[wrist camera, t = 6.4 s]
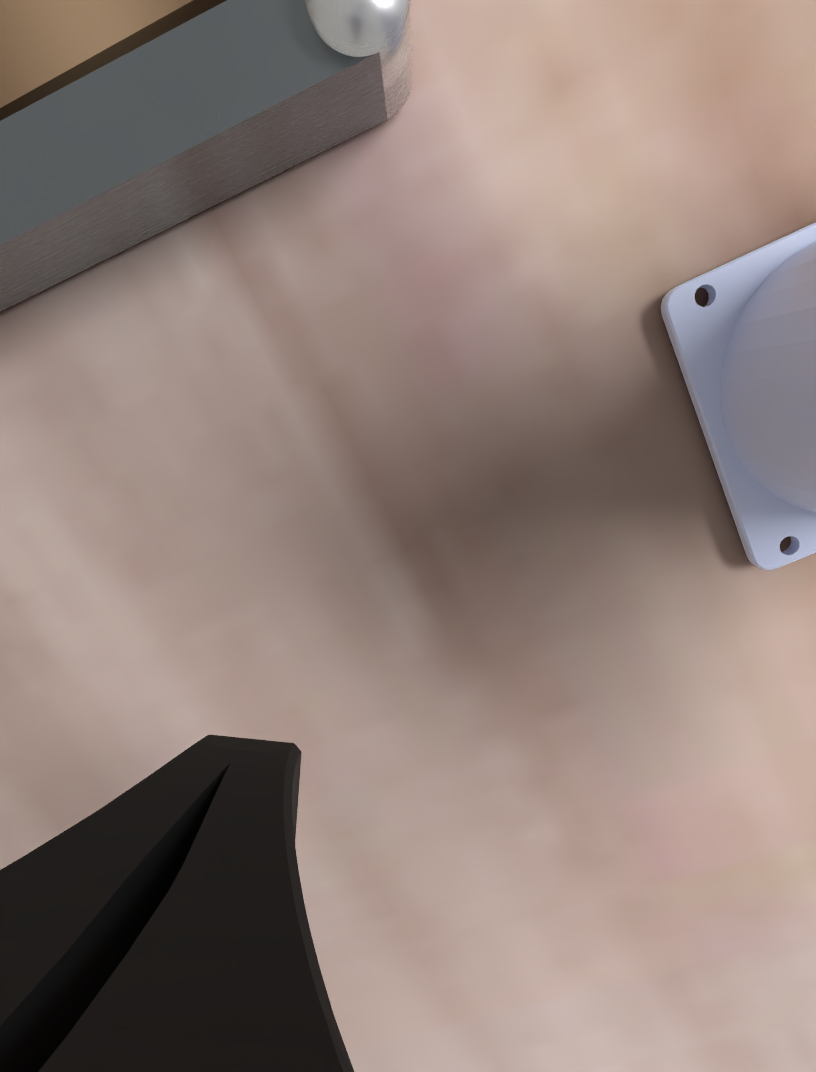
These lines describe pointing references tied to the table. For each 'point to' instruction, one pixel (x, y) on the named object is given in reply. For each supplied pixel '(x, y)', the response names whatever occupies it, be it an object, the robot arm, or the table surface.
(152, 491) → the table surface
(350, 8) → the hinged leg
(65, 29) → the stool seat
